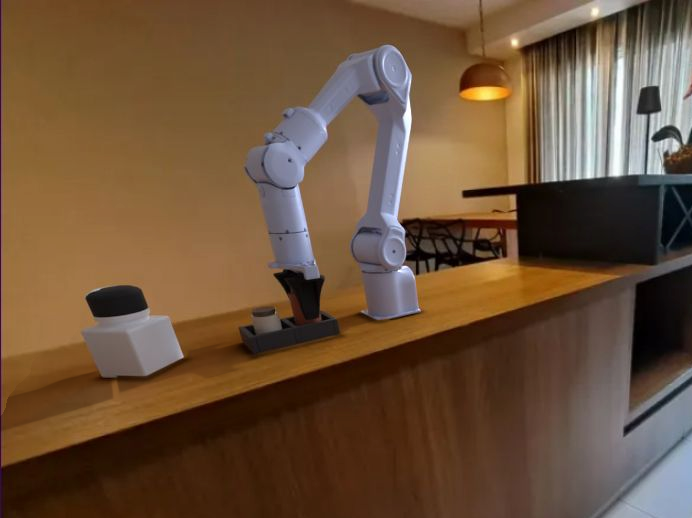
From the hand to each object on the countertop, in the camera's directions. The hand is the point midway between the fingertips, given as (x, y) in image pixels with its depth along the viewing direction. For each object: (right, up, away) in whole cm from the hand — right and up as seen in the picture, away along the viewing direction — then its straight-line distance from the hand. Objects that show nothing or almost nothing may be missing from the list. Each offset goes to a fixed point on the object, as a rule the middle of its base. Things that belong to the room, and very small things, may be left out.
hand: (307, 315), depth 75 cm
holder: (-2, -4, 0) cm, 5 cm away
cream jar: (-5, -5, -2) cm, 7 cm away
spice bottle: (0, -2, +1) cm, 2 cm away
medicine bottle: (-19, -10, -10) cm, 24 cm away
